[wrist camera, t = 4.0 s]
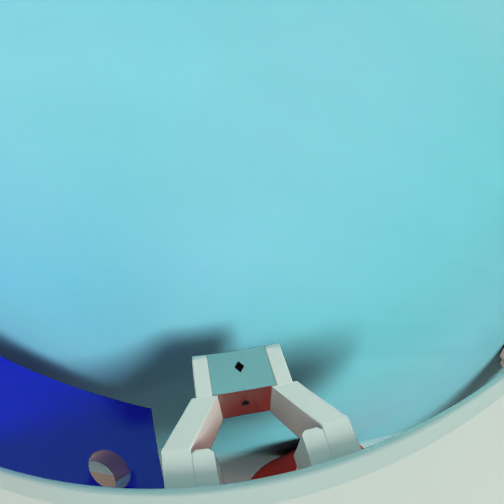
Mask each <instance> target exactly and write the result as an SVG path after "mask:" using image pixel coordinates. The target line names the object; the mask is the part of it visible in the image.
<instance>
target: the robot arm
mask: <svg viewBox="0 0 504 504" xmlns="http://www.w3.org/2000/svg"><path fill="white" fill-rule="evenodd" d="M500 358H501V362H500V364H501V365H502V366H503V367H504V348H503V350H502V351H501V354H500ZM192 369H193V378H194V387H195V396H196V398H192V399H191V400H190V402H189V404H188V406H187V407H186V409H185V411H184V413H183V414H182V416H181V418H180V420H179V421H178V423H177V425H176V426H175V428H174V430H173V432H172V433H171V435H170V437H169V439H168V440H167V442H166V444H165V445H164V447H163V449H162V451H161V455H162V467H163V477H164V487H165V489H135V488H114V487H101V486H91V485H83V484H75V483H69V482H63V481H57V480H51V479H46V478H42V477H37V476H33V475H28V474H24V473H21V472H17V471H13V470H10V469H6V468H3V467H0V504H504V372H503V373H501V374H500V375H499V376H497V377H496V378H495V379H493V380H492V381H490V382H489V383H488V384H486V385H485V386H483V387H482V388H480V389H479V390H477V391H476V392H474V393H473V394H471V395H470V396H468V397H467V398H465V399H463V400H462V401H460V402H458V403H457V404H455V405H453V406H452V407H450V408H448V409H447V410H445V411H443V412H441V413H439V414H438V415H436V416H434V417H432V418H430V419H428V420H427V421H425V422H423V423H421V424H419V425H417V426H415V427H413V428H411V429H409V430H406V431H404V432H402V433H400V434H398V435H396V436H393V437H391V438H389V439H387V440H384V441H382V442H379V443H377V444H375V445H372V446H370V447H367V448H364V449H362V450H361V447H360V445H359V442H358V440H357V438H356V435H355V433H354V431H353V428H352V426H351V424H350V421H349V419H348V417H347V416H345V415H344V414H342V413H341V412H340V411H338V410H337V409H335V408H334V407H332V406H331V405H330V404H328V403H327V402H325V401H324V400H322V399H321V398H320V397H318V396H317V395H315V394H314V393H313V392H311V391H310V390H309V389H307V388H306V387H304V386H303V385H302V384H300V383H299V382H298V381H294V382H293V381H292V378H291V375H290V372H289V370H288V367H287V364H286V361H285V358H284V355H283V353H282V350H281V347H280V345H279V344H278V343H276V344H272V345H267V346H259V347H253V348H248V349H242V350H237V351H233V352H225V353H218V354H209V355H200V356H192ZM268 410H270V412H271V413H272V414H273V415H275V416H276V417H277V418H278V419H279V420H280V421H281V422H282V423H283V424H284V425H285V426H286V427H288V428H289V429H290V430H291V431H292V432H293V433H294V434H295V435H297V436H298V437H299V438H300V441H299V444H298V446H297V449H296V451H295V453H294V458H295V462H296V465H297V468H298V470H295V471H291V472H287V473H283V474H278V475H274V476H269V477H264V478H259V479H253V480H248V481H242V482H235V483H228V484H225V483H224V479H223V474H222V469H221V467H220V465H219V463H218V461H217V458H216V456H215V454H214V452H213V451H212V450H210V449H211V447H212V444H213V442H214V440H215V438H216V435H217V433H218V431H219V428H220V426H221V424H222V421H223V418H228V417H233V416H239V415H244V414H250V413H257V412H263V411H268Z"/></svg>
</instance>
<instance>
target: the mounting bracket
mask: <svg viewBox="0 0 504 504" xmlns="http://www.w3.org/2000/svg"><path fill="white" fill-rule="evenodd" d="M89 461H97V462H100V463H102V464H104V465H105V466H107V467H108V468H109V469H110V470H111V472H112V473H113V475H114V477H115V480H116V487H115V488H135V489H165V487H164V480H163V476H162V471H161V466H160V461H159V455H158V450H157V444H156V438H155V432H154V426H153V419H152V412H151V409H150V408H145V407H141V406H137V405H133V404H129V403H125V402H122V401H118V400H114V399H111V398H107V397H104V396H100V395H97V394H94V393H91V392H88V391H85V390H82V389H79V388H76V387H73V386H70V385H67V384H64V383H62V382H59V381H56V380H54V379H51V378H49V377H46V376H44V375H41V374H39V373H36V372H34V371H31V370H29V369H27V368H25V367H22V366H20V365H18V364H16V363H14V362H11V361H9V360H7V359H5V358H3V357H1V356H0V467H3V468H6V469H10V470H13V471H17V472H21V473H24V474H28V475H33V476H37V477H42V478H46V479H51V480H57V481H63V482H69V483H75V484H83V485H91V486H101V485H100V484H99V483H97V482H96V481H95V480H94V478H93V477H92V475H91V473H90V471H89V467H88V462H89ZM101 487H103V486H101Z"/></svg>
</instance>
